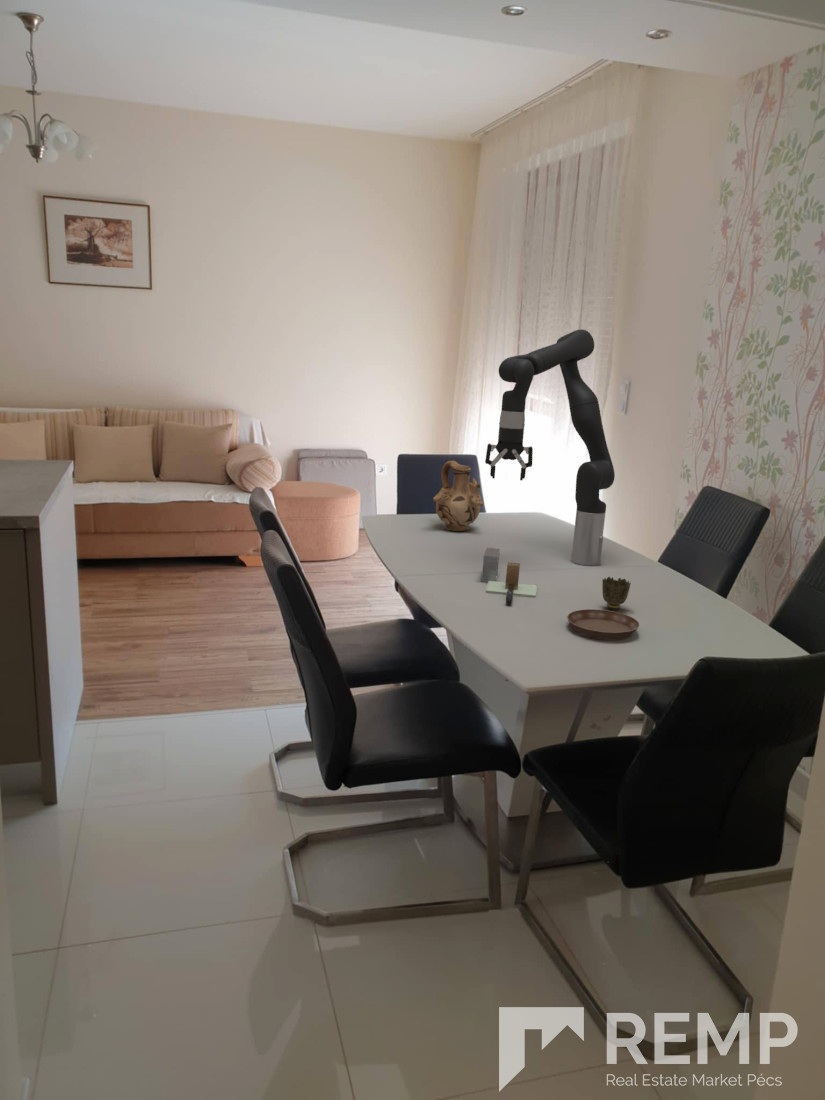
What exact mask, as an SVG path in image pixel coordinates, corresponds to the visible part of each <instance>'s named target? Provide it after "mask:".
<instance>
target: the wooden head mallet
mask: <svg viewBox="0 0 825 1100" xmlns="http://www.w3.org/2000/svg"><path fill="white" fill-rule="evenodd" d="M520 568H521V563H520V562H513V561H512V562H511V561H508V562H507V564H506V575H505V582H506V584H505V589H508V591H507V595H506V598H505V604H506V605H512V604H513V600H514V595H513V592H514V590H518V584H519V580H520V579H519V578H520V570H521V569H520Z"/></svg>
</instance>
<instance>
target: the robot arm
mask: <svg viewBox="0 0 825 1100" xmlns="http://www.w3.org/2000/svg"><path fill="white" fill-rule="evenodd" d="M594 340H595V339H594V337H593V336H592V334H591V333H590V332H589V331H588V330H586V329H577V330H573V331H571V332H569V333H567V334H565V335H563V336H561V337H559V338H558V339H557V341H556V343H553V344H550V345H547V346H545V347H541V348H538V349H536V350H533V351H530V352H528V353H524V354H520V355H513V356H509V357H507V358H505V359H503V360H502V361H501V363H500V364H499V366H498V375H499V378H500V379H501V380H502V381H504V382H507V383H515V385H514V387H513V389H511V390H506V391H504V392H503V394H502V398H501V399H502V400H501V411H500V415H499V423H498V438H497V443H496V444H491V443H487V447H486V453H485V461H484V463H485V464H486V465H489V466H490V473H489V475H490V477H491V478H492V479H495V477H496V464H497V463H498V462H499V461H501V459H503V460H505V461H506V460H507V461H508V460H511V461H515V460H517V462H518V463H519V464H520V466H521V468H520V478H519V480H520V481H523V480H524V479H525V478H526V473H527V472H526V470H527V468H531V467H533V446H524V445H523V444H524V433H525V424H526V419H525V418H526V417H525V413H526V403H527V402H526V400H527V396H528V394H529V390H530V388H531V385H532V381H533V379H534V377H535V376H538V375H539V374H542V373H544V372H547V371H549V370H552V369H553V368H554V367H558V366H559V367H560V371H561V373H562V377H563V381H564V386H565V390H566V396H567V400H568V406H569V413H570V418H571V422H572V425H573V427H574V429H575V431H576V432H577V434H578V435H579V437H580V439H581V440H582V442H583V443H584V445H585V447H586V449H587V452H588V457H589V461H585V462H583V463H581V465H580V466H579V468H578V469H577V473H576V479H575V494H574V495H575V497H574V498H575V502H576V513H575V519H574V520H575V521H574V531H573V540H572V548H571V557H570V558H571V559H570V562H572V563H574V564H577V565H581V566H601V560H602V559H601V558H602V552H603V543H604V529H605V520H606V511H607V504H606V503H605V501H602V500H601V499H600V490H601V491H602V490H607V489H609V488H611V487H612V485H613V484H614V481H615V468H614V465H613V461H612V458H611V455H610V451H609V448H608V443H607V440H606V435H605V431H604V426H603V420H602V416H601V415H602V414H601V408H600V404H599V398H598V396H597V395H596V394H595V392H594V391H593V390H592V389H591V388H590V386H589V385H588V384H586V383H585V381H584V380H583V378H582V376H581V374H580V370H579V366H578V362H579V361H581V360H584V359H586V358H589V356H591V355H592V353H593V352H594V349H595V341H594ZM495 449H496V451H497V453H498V454H497V455H496V456H495V457H494V459H493V460H491V459H490V458H491V453H492V452H494V450H495ZM524 451H525V454H526V455H527V456H528V457H527V462H524V460H523V458H522V456H521V454H522V453H523V452H524Z"/></svg>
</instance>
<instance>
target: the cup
mask: <svg viewBox="0 0 825 1100" xmlns="http://www.w3.org/2000/svg"><path fill="white" fill-rule="evenodd" d="M601 582H602V584H601V585H602V588H601V589H602V597H603V600H604V602H605V603H606V608H607V609H608V610H610V611H617V610H620V609H621V605H622V604H624V603H625V602H626V600H627V599H628V596H629V592H630V588H631V582H630V581H629V580H628V581H627V579H625V578H621V577H619V578H617V579H615V578H614V577H613V576H612V577H611V576H608V577H604V578H602V581H601Z"/></svg>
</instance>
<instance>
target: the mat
mask: <svg viewBox="0 0 825 1100" xmlns="http://www.w3.org/2000/svg"><path fill="white" fill-rule="evenodd" d="M505 584H506V581H497V580H496V581H488V583H487V585H486V587H485V588H486V589H485V593H489V594H496V595H497V594H498V595H499V594H500V595H506V596H507V591H508V589H505ZM537 587H538V586H537V585H533V584H526V583H525V584H524V583H518V590H514V592H513V596H515V597H517V596H518V597H527V598H535V597H536V598H537Z"/></svg>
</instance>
